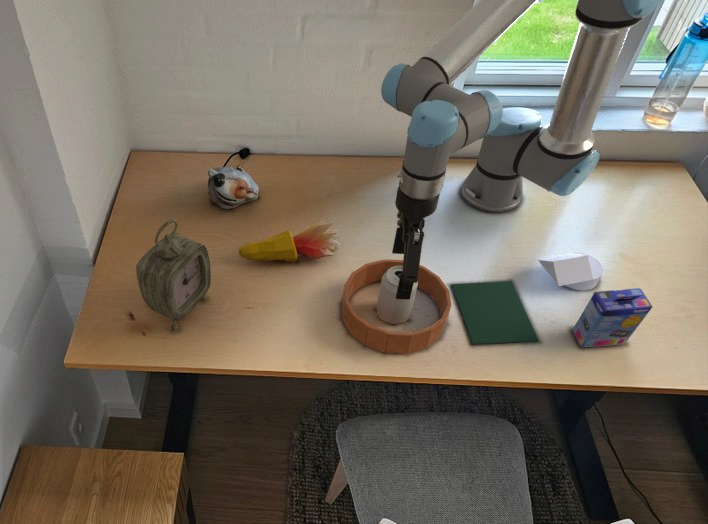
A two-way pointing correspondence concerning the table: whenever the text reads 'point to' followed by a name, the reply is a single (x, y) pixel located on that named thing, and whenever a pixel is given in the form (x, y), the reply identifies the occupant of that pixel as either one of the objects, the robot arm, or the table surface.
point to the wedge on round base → (573, 270)
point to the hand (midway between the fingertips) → (400, 274)
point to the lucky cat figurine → (231, 187)
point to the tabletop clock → (174, 275)
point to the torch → (294, 244)
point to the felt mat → (493, 313)
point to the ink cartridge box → (611, 317)
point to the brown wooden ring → (386, 339)
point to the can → (394, 298)
